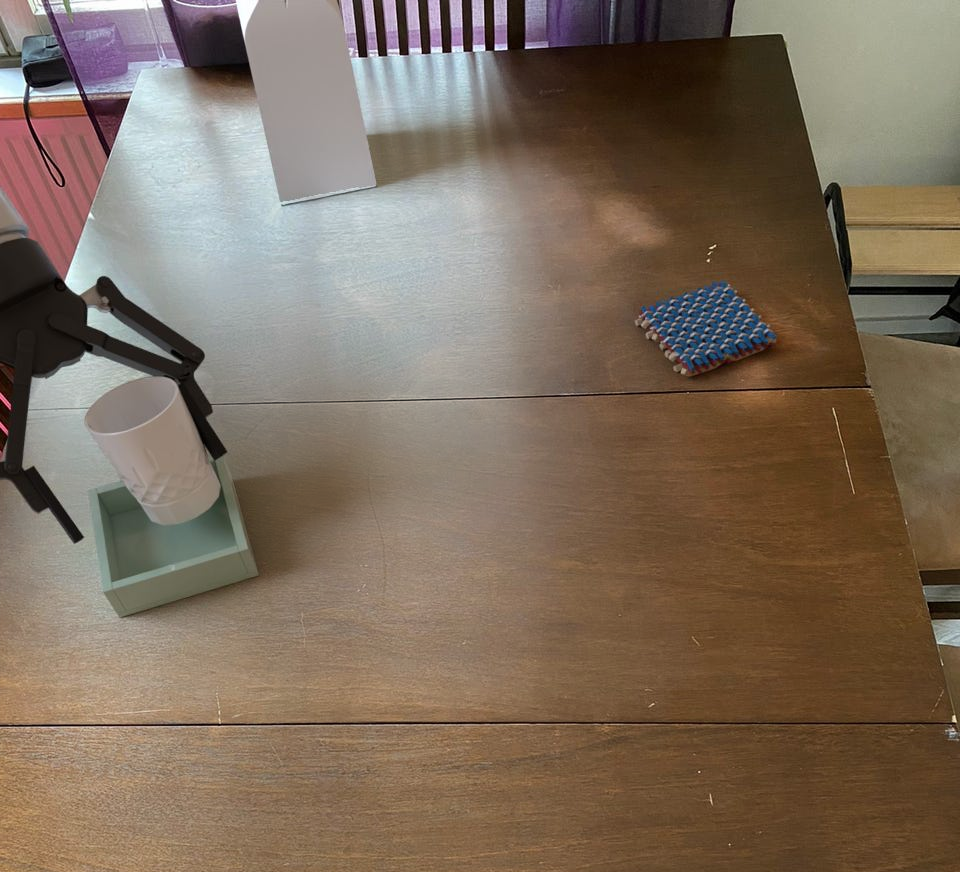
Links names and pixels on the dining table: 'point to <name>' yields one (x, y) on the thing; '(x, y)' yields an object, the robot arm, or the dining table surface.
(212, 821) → the dining table surface
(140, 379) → the white cup
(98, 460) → the dining table surface
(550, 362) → the dining table surface
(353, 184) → the milk
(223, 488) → the socket
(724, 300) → the woven mat
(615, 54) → the dining table surface
